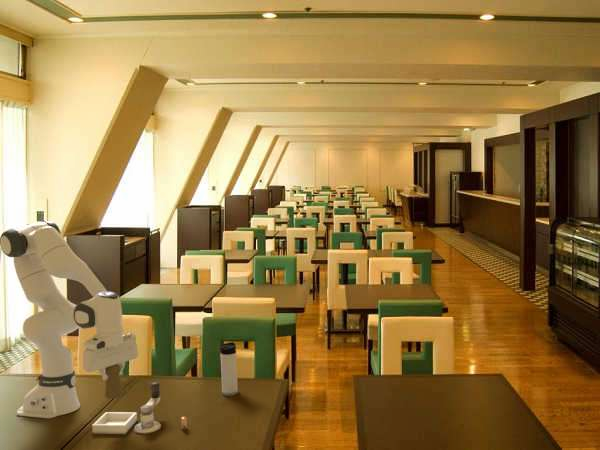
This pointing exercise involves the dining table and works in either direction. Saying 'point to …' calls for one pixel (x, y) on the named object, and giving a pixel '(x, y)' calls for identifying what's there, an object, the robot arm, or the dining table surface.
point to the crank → (152, 399)
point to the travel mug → (229, 369)
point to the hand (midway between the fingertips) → (112, 377)
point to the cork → (113, 382)
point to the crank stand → (153, 424)
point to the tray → (114, 423)
